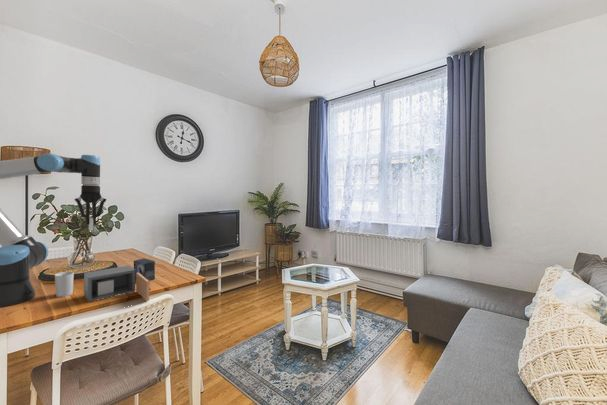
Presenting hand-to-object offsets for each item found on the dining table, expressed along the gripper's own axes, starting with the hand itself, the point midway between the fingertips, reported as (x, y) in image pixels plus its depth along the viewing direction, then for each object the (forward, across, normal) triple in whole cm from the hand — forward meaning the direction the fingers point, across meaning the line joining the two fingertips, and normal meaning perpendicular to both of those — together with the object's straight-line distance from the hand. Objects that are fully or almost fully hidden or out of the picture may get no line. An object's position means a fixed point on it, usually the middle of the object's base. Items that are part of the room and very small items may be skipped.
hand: (90, 230), depth 134 cm
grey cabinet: (+28, +4, -22) cm, 36 cm away
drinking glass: (+29, -11, -9) cm, 32 cm away
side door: (+28, +14, -35) cm, 47 cm away
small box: (+29, +22, -10) cm, 37 cm away
